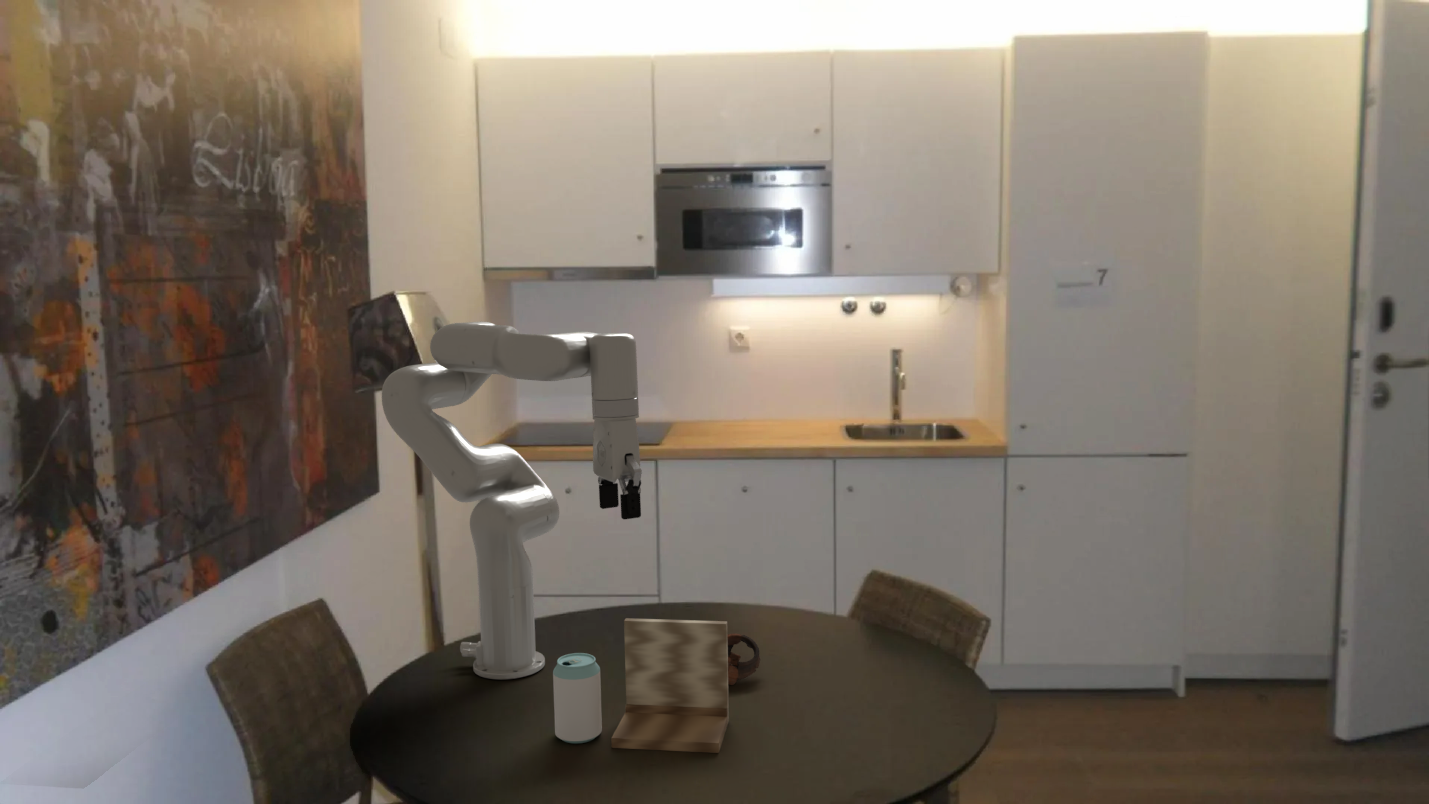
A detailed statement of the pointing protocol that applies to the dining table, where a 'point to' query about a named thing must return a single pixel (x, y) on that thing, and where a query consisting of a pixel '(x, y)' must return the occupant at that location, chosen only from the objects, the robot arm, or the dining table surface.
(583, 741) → the can
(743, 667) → the vr controller
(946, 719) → the dining table surface
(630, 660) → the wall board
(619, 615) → the dining table surface
